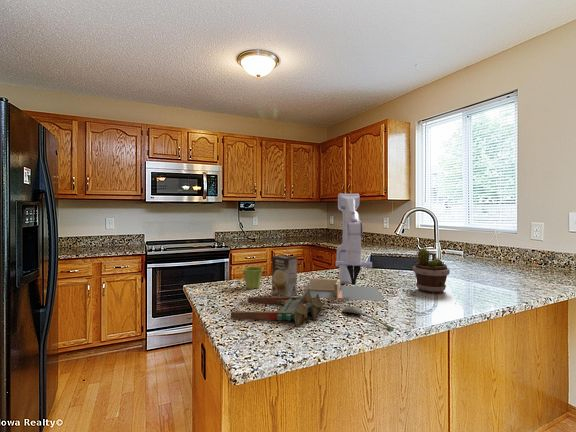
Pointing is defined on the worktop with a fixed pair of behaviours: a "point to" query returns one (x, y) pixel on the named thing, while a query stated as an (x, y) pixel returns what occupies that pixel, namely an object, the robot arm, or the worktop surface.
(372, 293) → the board
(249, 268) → the plant pot
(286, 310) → the miniature gate
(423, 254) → the flowerpot
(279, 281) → the coffee box
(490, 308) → the worktop surface
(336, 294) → the tan wooden plank
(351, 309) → the soupspoon
